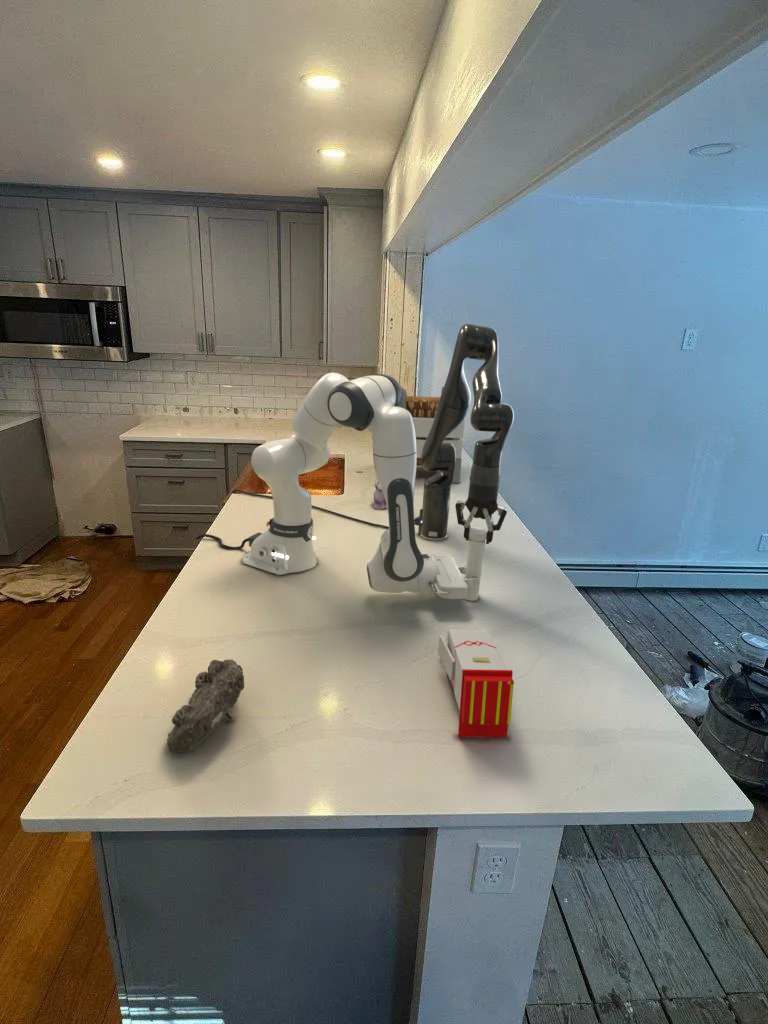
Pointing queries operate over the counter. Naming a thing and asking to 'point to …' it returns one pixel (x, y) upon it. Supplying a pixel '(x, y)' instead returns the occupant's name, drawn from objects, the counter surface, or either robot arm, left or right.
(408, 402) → the grey boxy piece
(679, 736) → the counter surface
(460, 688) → the toy
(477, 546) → the slender white bottle
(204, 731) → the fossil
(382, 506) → the figurine
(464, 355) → the right robot arm
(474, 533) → the lid
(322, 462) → the left robot arm
